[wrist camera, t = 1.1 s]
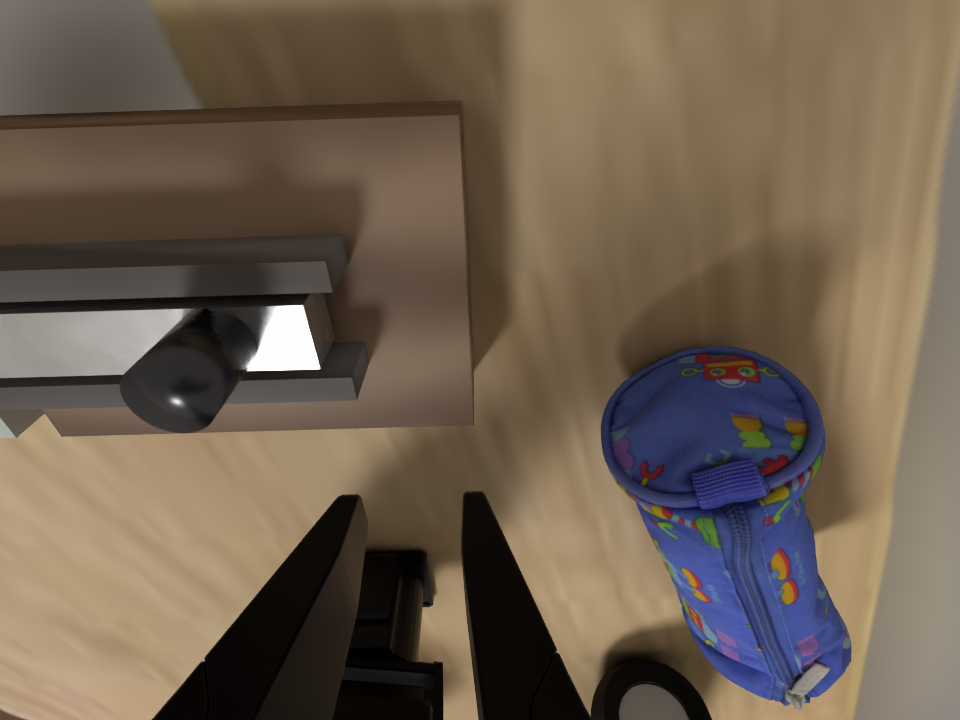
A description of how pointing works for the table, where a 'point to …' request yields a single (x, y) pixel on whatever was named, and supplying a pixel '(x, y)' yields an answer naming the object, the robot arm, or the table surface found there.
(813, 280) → the table surface
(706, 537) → the pencil case
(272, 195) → the door board
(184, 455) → the table surface
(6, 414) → the block
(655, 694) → the portable speaker
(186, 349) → the lock bolt
